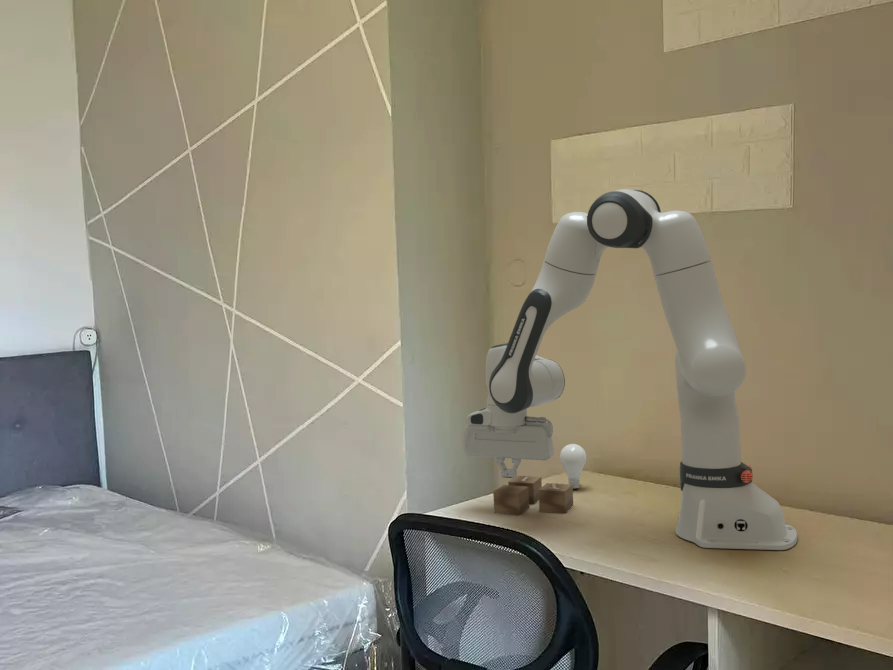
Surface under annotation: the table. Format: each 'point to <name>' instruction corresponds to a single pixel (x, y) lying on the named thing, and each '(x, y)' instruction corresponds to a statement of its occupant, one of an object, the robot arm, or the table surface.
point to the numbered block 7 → (555, 498)
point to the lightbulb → (573, 462)
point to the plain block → (511, 500)
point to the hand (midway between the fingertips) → (509, 477)
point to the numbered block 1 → (530, 482)
